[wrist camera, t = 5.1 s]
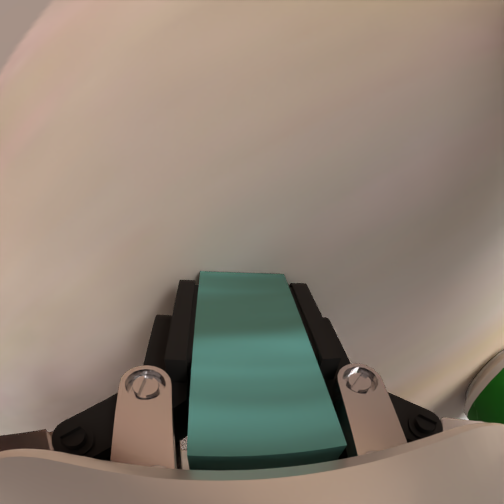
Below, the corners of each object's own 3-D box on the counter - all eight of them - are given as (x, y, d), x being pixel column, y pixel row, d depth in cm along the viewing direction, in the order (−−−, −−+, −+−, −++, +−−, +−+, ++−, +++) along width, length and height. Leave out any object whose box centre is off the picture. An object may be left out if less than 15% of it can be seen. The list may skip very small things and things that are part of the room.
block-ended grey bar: (158, 269, 11) (107, 445, 4) (322, 274, 11) (409, 430, 5) (188, 481, 18) (189, 557, 12) (264, 481, 19) (275, 555, 13)
